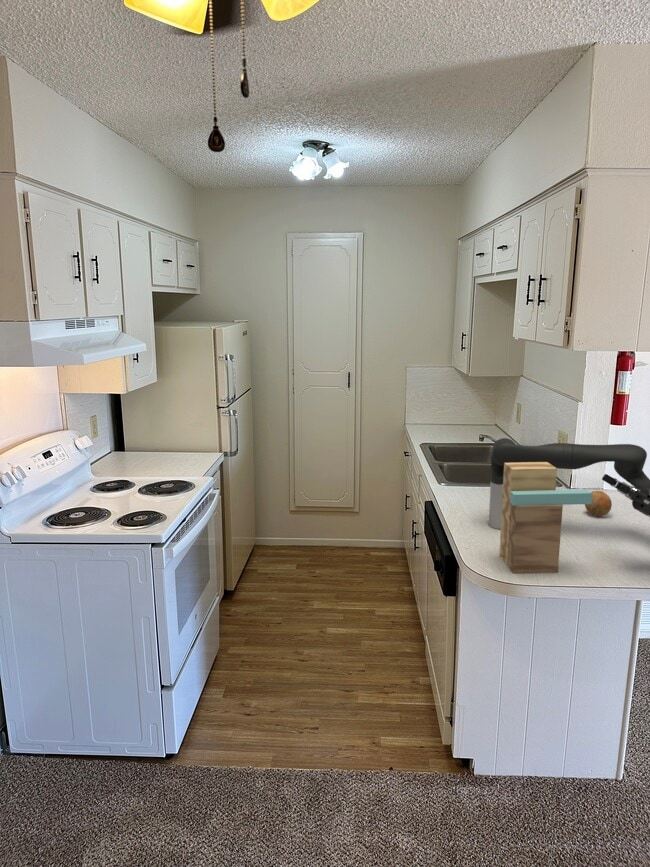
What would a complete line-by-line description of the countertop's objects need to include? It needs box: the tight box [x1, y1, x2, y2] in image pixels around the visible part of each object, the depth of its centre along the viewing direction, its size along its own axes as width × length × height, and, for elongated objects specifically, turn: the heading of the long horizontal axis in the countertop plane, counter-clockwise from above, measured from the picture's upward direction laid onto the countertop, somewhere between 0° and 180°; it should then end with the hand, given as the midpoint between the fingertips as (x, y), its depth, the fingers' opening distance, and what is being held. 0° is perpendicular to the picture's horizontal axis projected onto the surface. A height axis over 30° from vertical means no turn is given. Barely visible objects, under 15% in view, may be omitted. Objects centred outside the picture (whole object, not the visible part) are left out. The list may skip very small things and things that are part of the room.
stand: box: [499, 462, 558, 566], centre depth 192 cm, size 8×14×32 cm, turn 91°
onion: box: [584, 490, 613, 517], centre depth 234 cm, size 10×10×10 cm
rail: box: [510, 489, 592, 506], centre depth 183 cm, size 4×24×4 cm, turn 91°
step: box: [507, 505, 564, 574], centre depth 186 cm, size 5×14×22 cm, turn 91°
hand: (610, 480), depth 183 cm, fingers open, 8 cm apart
